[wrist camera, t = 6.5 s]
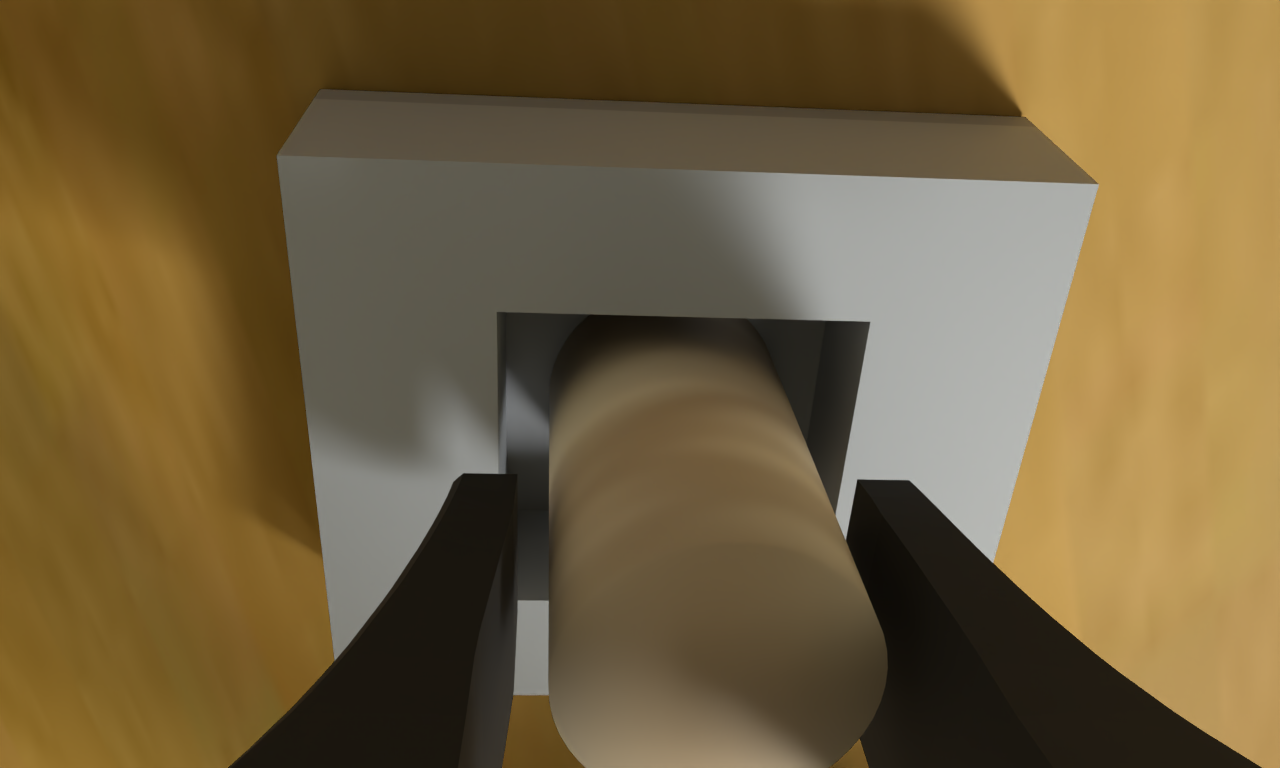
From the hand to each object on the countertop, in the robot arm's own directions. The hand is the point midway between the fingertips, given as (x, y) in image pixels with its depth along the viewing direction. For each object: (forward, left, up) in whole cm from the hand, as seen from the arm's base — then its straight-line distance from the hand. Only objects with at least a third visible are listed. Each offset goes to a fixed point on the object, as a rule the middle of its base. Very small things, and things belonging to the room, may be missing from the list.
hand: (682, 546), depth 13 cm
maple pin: (0, 0, -3) cm, 3 cm away
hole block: (0, 0, -4) cm, 4 cm away
